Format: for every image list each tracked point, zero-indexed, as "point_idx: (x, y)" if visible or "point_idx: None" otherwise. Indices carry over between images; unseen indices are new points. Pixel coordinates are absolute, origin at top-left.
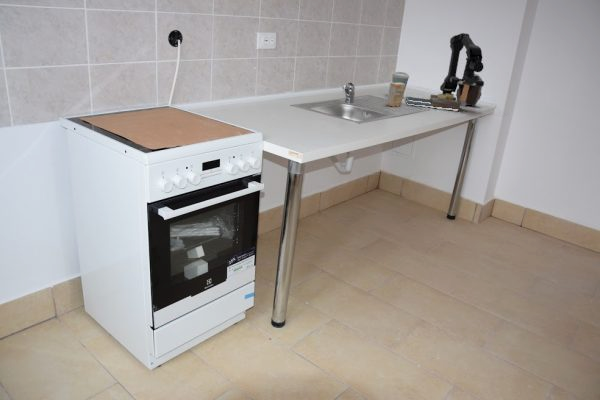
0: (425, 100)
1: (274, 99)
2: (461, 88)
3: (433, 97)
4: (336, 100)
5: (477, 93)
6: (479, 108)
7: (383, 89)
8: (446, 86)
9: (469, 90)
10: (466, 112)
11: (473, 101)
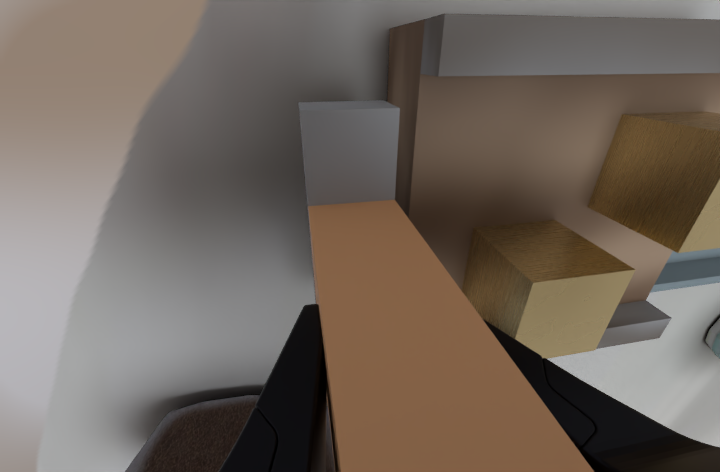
0: None
1: None
2: (572, 403)
3: (625, 304)
4: None
5: None
6: (111, 388)
7: (691, 434)
8: None
9: (276, 426)
10: (268, 68)
11: (175, 447)
